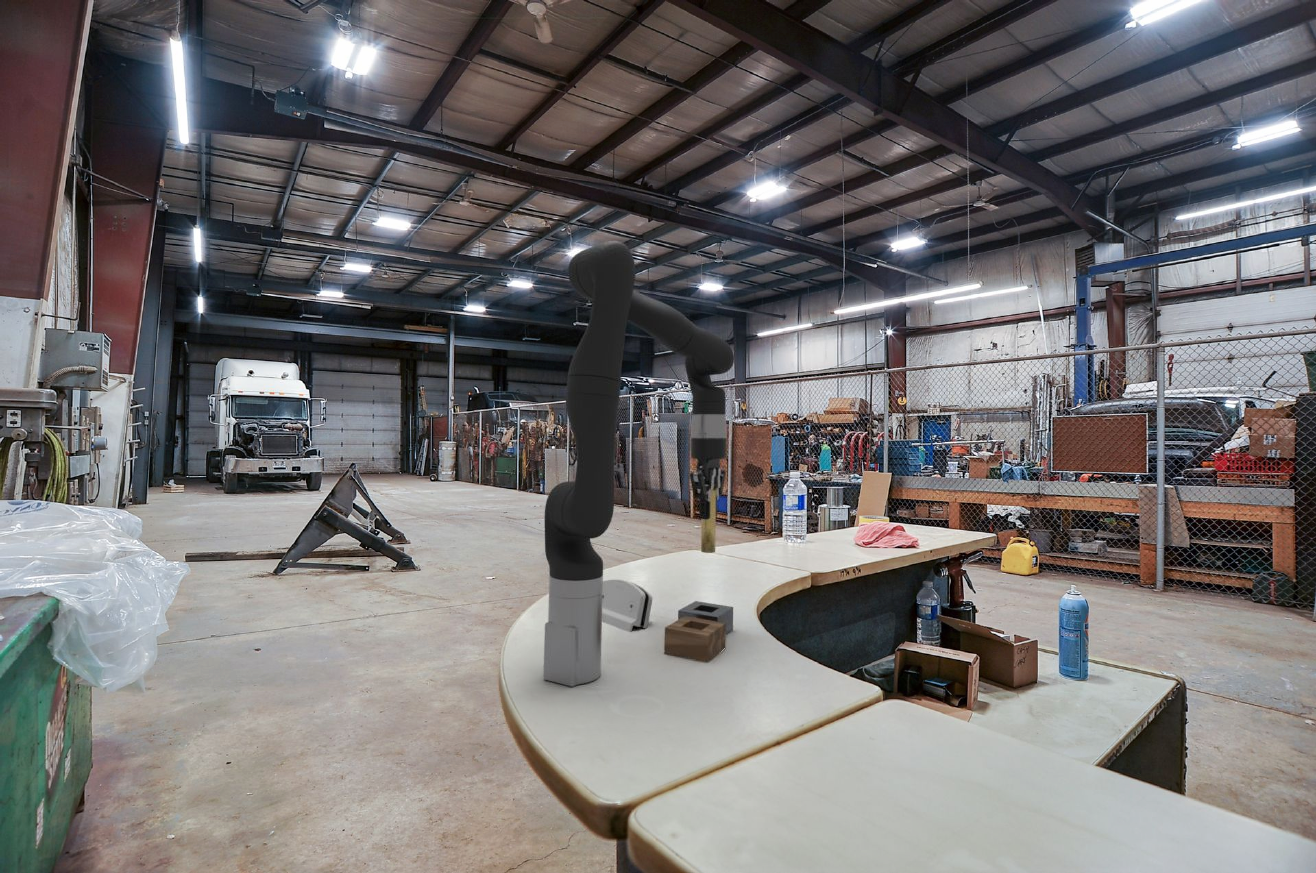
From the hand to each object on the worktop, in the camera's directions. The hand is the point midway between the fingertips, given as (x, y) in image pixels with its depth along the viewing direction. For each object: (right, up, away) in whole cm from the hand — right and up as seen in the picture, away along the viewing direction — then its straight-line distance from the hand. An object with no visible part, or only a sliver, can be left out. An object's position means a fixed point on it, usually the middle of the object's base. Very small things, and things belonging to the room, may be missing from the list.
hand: (708, 517), depth 127 cm
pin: (0, -7, 0) cm, 7 cm away
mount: (-3, -25, -10) cm, 27 cm away
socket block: (0, -25, +2) cm, 25 cm away
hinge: (-19, -25, +10) cm, 33 cm away
